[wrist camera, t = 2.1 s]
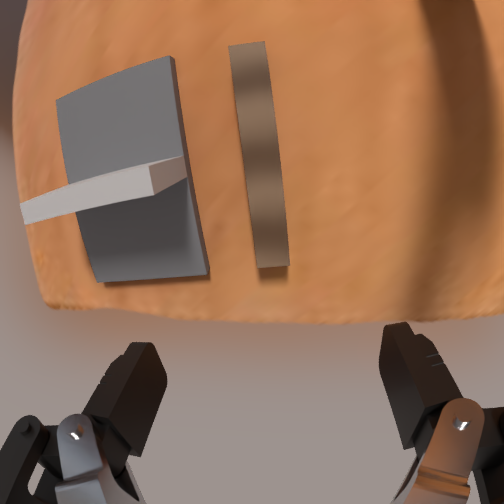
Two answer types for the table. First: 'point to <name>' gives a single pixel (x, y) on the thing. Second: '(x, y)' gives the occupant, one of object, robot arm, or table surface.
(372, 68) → the table surface
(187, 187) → the stand
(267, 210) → the walnut bar
